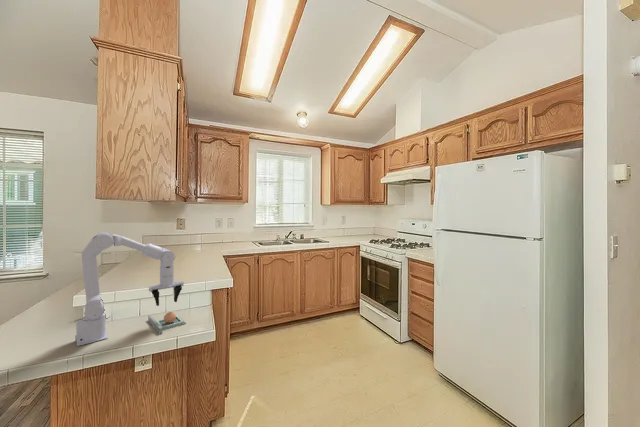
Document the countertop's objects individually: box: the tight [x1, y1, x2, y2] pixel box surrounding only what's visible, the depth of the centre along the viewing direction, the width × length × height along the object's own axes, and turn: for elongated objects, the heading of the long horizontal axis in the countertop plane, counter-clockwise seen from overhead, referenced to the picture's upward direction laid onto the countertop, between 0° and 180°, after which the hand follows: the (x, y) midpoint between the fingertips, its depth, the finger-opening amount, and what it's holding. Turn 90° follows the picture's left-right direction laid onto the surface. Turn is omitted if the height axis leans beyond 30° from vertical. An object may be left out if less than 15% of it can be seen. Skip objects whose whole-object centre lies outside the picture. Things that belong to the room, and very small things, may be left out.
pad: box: [156, 315, 187, 331], centre depth 127 cm, size 11×11×1 cm
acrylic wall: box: [147, 314, 163, 335], centre depth 123 cm, size 1×20×2 cm, turn 45°
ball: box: [163, 311, 177, 323], centre depth 127 cm, size 5×5×5 cm
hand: (166, 303), depth 128 cm, fingers open, 7 cm apart
